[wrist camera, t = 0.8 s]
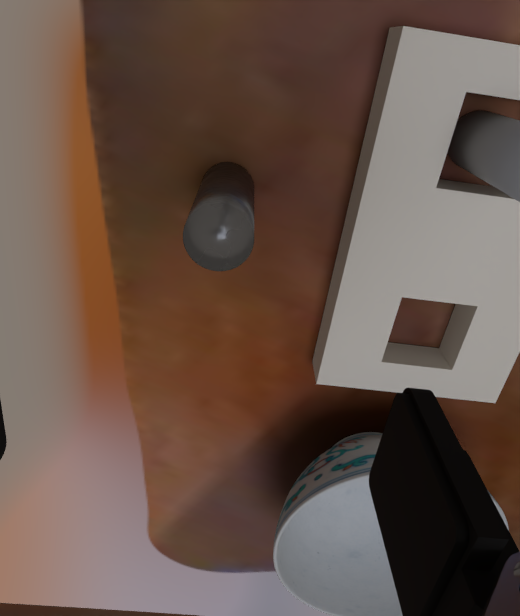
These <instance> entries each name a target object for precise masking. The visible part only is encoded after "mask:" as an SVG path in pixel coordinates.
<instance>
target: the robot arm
mask: <svg viewBox="0 0 520 616" xmlns="http://www.w3.org/2000/svg"><path fill="white" fill-rule="evenodd" d="M5 448H6V434H5V428H4V421H3V414H2V407H1V401H0V459H1V458H2V456H3V454H4V451H5ZM369 488H370V492H371V496H372V500H373V504H374V508H375V511H376V515H377V519H378V523H379V527H380V531H381V534H382V538H383V542H384V546H385V550H386V553H387V557H388V561H389V565H390V569H391V573H392V576H393V580H394V584H395V588H396V592H397V596H398V599H399V603H400V607H401V611H402V615H403V616H520V552H519V550H518V548H517V546H516V544H515V542H514V540H513V538H512V536H511V534H510V533H509V531H508V529H507V527H506V525H505V523H504V521H503V519H502V517H501V515H500V514H499V512H498V510H497V508H496V506H495V504H494V502H493V500H492V498H491V496H490V494H489V493H488V491H487V489H486V487H485V485H484V483H483V481H482V479H481V477H480V475H479V474H478V472H477V470H476V468H475V466H474V464H473V462H472V460H471V458H470V456H469V455H468V454H467V452H466V451H465V450H463V449H462V448H461V446H460V444H459V442H458V440H457V438H456V436H455V434H454V432H453V430H452V428H451V426H450V424H449V422H448V421H447V419H446V417H445V415H444V413H443V411H442V409H441V407H440V405H439V403H438V401H437V399H436V397H435V395H434V394H433V392H432V391H431V390H426V389H417V388H405V390H404V391H403V393H397V394H396V396H395V398H394V401H393V404H392V407H391V410H390V413H389V416H388V419H387V422H386V425H385V428H384V431H383V434H382V437H381V440H380V443H379V446H378V449H377V452H376V455H375V458H374V461H373V464H372V467H371V470H370V474H369ZM0 616H197V615H182V614H167V613H152V612H137V611H121V610H106V609H91V608H90V609H89V608H75V607H57V606H41V605H25V604H8V603H0Z"/></svg>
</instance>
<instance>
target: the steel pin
mask: <svg viewBox="0 0 520 616" xmlns="http://www.w3.org/2000/svg"><path fill="white" fill-rule="evenodd" d="M183 242H184V246H185V249H186V251H187V253H188V254H189V256H190V257H191V258H192V259H193V260H194V261H195V262H196V263H197V264H198V265H200V266H202V267H204V268H206V269H209V270H213V271H226V270H230V269H233V268H236V267H238V266H239V265H241V264H242V263H243V262H244V261H245V260H246V259H247V258H248V257H249V255H250V253H251V251H252V248H253V245H254V183H253V179H252V177H251V175H250V174H249V173H248V171H247V170H246V169H245V168H243V167H242V166H240V165H238V164H236V163H232V162H222V163H219V164H216V165H214V166H213V167H211V168H210V169H209V170H208V171H207V172H206V174H205V175H204V178H203V180H202V183H201V185H200V188H199V190H198V193H197V195H196V198H195V201H194V203H193V206H192V208H191V211H190V214H189V216H188V219H187V221H186V224H185V227H184V231H183Z"/></svg>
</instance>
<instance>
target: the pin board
mask: <svg viewBox="0 0 520 616" xmlns="http://www.w3.org/2000/svg"><path fill="white" fill-rule="evenodd" d="M466 92H470V93H477V94H483V95H489V96H496V97H502V98H508V99H515V100H520V45H515V44H509V43H503V42H497V41H491V40H485V39H479V38H473V37H467V36H461V35H455V34H449V33H443V32H437V31H431V30H425V29H419V28H413V27H407V26H399V27H390V28H389V33H388V37H387V41H386V46H385V50H384V54H383V59H382V63H381V67H380V72H379V76H378V80H377V85H376V89H375V93H374V97H373V102H372V106H371V110H370V115H369V119H368V123H367V128H366V132H365V136H364V141H363V145H362V149H361V154H360V158H359V162H358V166H357V171H356V175H355V179H354V184H353V188H352V192H351V197H350V201H349V205H348V210H347V214H346V218H345V223H344V227H343V231H342V235H341V240H340V244H339V248H338V253H337V257H336V261H335V266H334V270H333V274H332V279H331V283H330V287H329V292H328V296H327V300H326V304H325V309H324V313H323V317H322V322H321V326H320V330H319V335H318V339H317V343H316V348H315V352H314V356H313V361H312V362H313V368H314V373H315V379H316V384H323V385H332V386H341V387H350V388H360V389H369V390H378V391H388V392H397V393H403V391H404V390H405V388H417V389H426V390H431V391H432V392H433V394H434V395H435V397H443V398H452V399H462V400H471V401H480V402H490V403H496V401H497V399H498V396H499V394H500V392H501V390H502V388H503V386H504V384H505V382H506V379H507V377H508V375H509V373H510V371H511V369H512V367H513V365H514V363H515V360H516V358H517V356H518V354H519V352H520V121H519V120H516V119H512V118H509V117H506V116H502V115H499V114H495V113H492V112H488V111H483V110H479V111H473V112H470V113H468V114H466V115H464V116H463V117H461V118H460V119H459V120H458V117H459V113H460V110H461V107H462V104H463V101H464V98H465V94H466ZM457 120H458V121H457ZM447 152H448V154H449V156H450V158H451V160H452V161H453V162H454V163H455V164H457V165H458V166H460V167H462V168H463V169H465V170H467V171H468V172H470V173H472V174H473V175H475V176H477V177H478V178H480V179H482V180H484V181H485V182H487V183H489V184H490V185H492V186H494V187H492V186H485V185H478V184H471V183H464V182H457V181H450V180H443V179H439V177H440V174H441V171H442V168H443V164H444V161H445V158H446V155H447ZM402 297H405V298H414V299H422V300H430V301H438V302H446V303H454V304H455V307H454V310H453V312H452V315H451V318H450V320H449V323H448V326H447V328H446V331H445V334H444V336H443V339H442V342H441V344H440V347H439V348H433V347H425V346H416V345H407V344H399V343H390V342H388V339H389V336H390V333H391V330H392V327H393V324H394V320H395V317H396V314H397V311H398V308H399V304H400V301H401V298H402Z"/></svg>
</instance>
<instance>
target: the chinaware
mask: <svg viewBox="0 0 520 616" xmlns="http://www.w3.org/2000/svg"><path fill="white" fill-rule="evenodd" d="M382 434H383V433H378V432H364V433H358V434H354V435H351V436H348V437H346V438H344V439H342V440H340V441H339V442H337V443H336V444H335V445H334V446H333V447H332V448H330V449H328V450H327V451H325V452H324V453H322V454H321V455H320V456H318V457H317V458H316V459H315V460H314V461H312V462H311V463H310V464H309V465H308V466H307V467H306V469H305V470H304V471H303V472H302V473H301V475H300V476H299V477H298V479H297V480H296V482H295V483H294V485H293V486H292V488H291V490H290V492H289V494H288V496H287V498H286V500H285V503H284V505H283V508H282V511H281V514H280V517H279V521H278V525H277V529H276V534H275V540H274V548H273V560H274V566H275V570H276V573H277V575H278V577H279V579H280V580H281V582H282V584H283V585H284V586H285V588H286V589H287V590H288V591H289V592H290V593H291V594H292V595H293V596H294V597H296V598H297V599H298V600H300V601H301V602H303V603H304V604H306V605H308V606H310V607H312V608H314V609H316V610H318V611H321V612H323V613H326V614H330V615H333V616H403V615H402V611H401V607H400V603H399V599H398V596H397V592H396V588H395V584H394V580H393V576H392V573H391V569H390V565H389V561H388V557H387V553H386V550H385V546H384V542H383V538H382V534H381V531H380V527H379V523H378V519H377V515H376V511H375V508H374V504H373V500H372V496H371V492H370V488H369V474H370V470H371V467H372V464H373V461H374V458H375V455H376V452H377V449H378V446H379V443H380V440H381V437H382ZM487 491H488V490H487ZM488 493H489V491H488ZM489 494H490V493H489ZM490 496H491V498H492V500H493V502H494V504H495V506H496V508H497V510H498V512H499V514H500V515H501V517H502V519H503V521H504V523H505V525H506V527H507V529H508V523H507V520H506V517H505V515H504V513H503V511H502V509H501V507H500V506H499V504H498V503H497V501H496V500H495V499H494V498H493V496H492V495H491V494H490ZM508 531H509V529H508Z"/></svg>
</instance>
